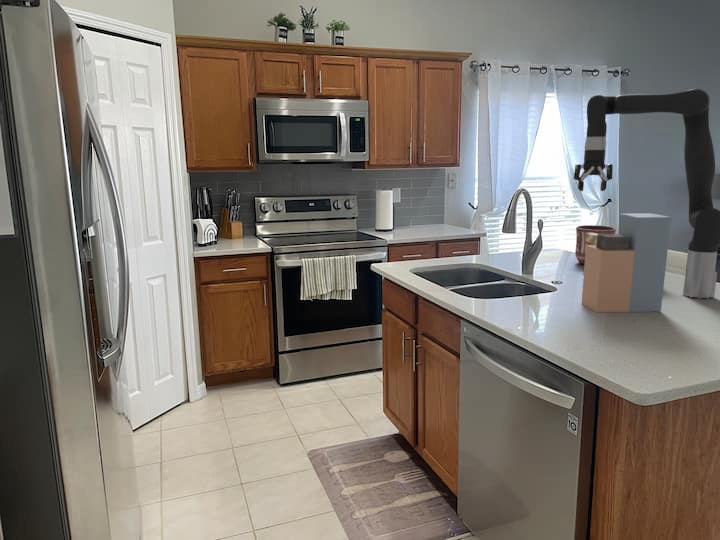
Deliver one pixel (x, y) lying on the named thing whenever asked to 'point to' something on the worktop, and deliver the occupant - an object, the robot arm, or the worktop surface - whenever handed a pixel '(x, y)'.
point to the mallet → (608, 241)
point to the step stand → (629, 267)
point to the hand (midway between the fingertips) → (591, 190)
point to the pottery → (582, 243)
